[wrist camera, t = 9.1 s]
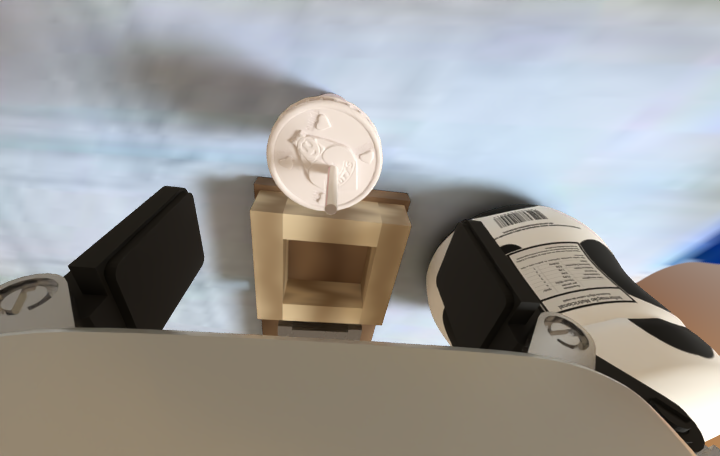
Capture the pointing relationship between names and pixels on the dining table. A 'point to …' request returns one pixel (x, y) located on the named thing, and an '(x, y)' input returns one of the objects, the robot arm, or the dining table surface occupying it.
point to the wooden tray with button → (325, 263)
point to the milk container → (599, 306)
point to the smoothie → (324, 153)
